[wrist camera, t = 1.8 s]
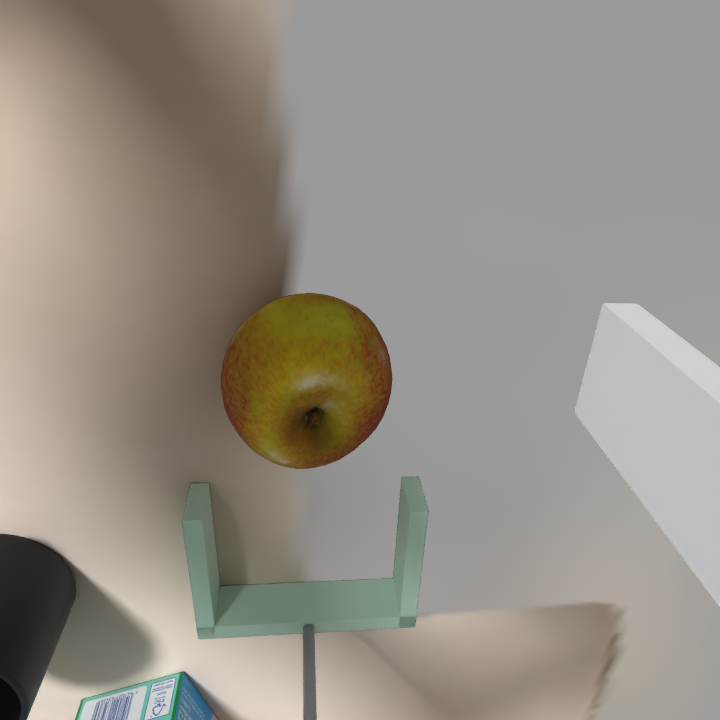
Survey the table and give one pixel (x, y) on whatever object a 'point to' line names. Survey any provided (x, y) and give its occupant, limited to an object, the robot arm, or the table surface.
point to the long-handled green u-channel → (304, 588)
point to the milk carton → (149, 702)
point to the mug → (29, 619)
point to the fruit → (306, 380)
